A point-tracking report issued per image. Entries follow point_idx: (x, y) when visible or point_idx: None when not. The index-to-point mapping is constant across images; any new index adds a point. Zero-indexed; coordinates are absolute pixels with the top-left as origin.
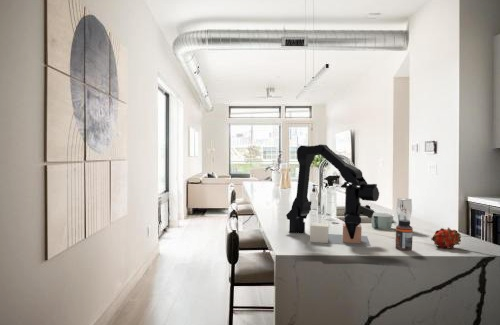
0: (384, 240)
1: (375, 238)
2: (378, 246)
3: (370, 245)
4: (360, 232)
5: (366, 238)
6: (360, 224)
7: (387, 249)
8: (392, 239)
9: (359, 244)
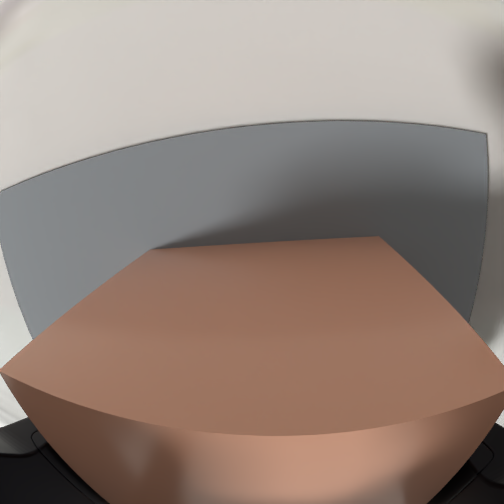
0: (61, 28)
1: (12, 117)
2: (405, 40)
3: (457, 129)
4: (445, 321)
5: (56, 184)
6: (8, 376)
7: (479, 8)
8: (28, 7)
9: (441, 255)
